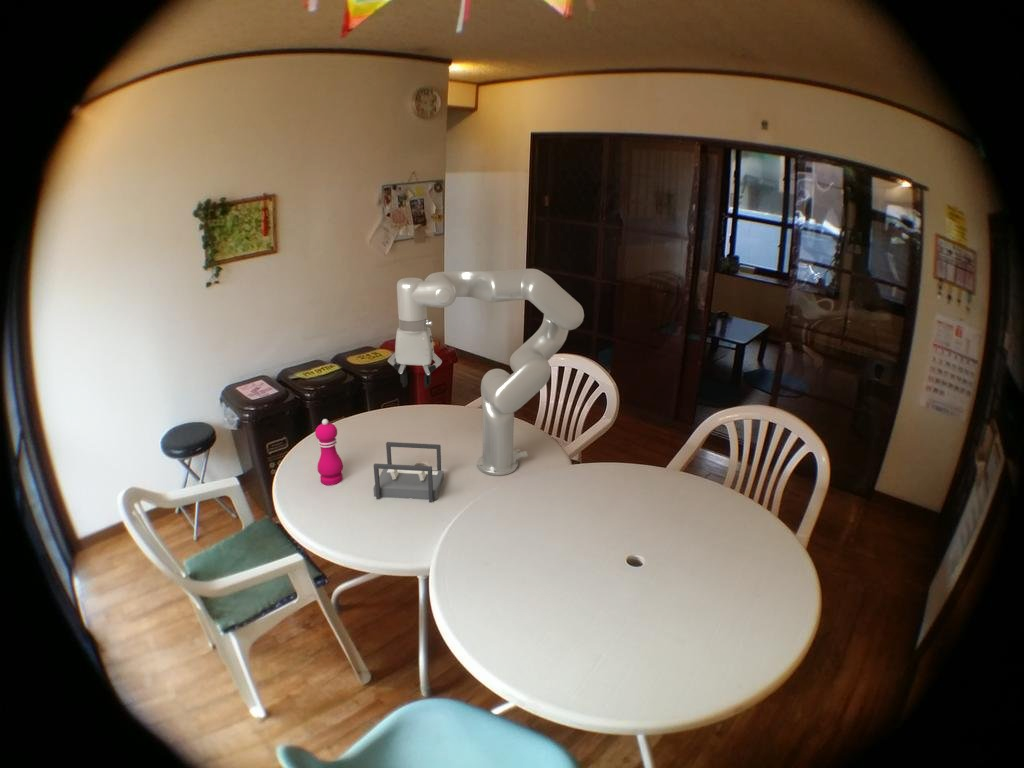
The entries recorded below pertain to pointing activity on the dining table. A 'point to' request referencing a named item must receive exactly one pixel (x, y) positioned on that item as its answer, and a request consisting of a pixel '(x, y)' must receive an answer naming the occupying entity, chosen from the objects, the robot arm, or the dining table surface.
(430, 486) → the dark grey open frame
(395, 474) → the paddle
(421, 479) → the cream cuboid
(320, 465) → the pepper mill
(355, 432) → the dining table surface
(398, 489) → the breaker panel
